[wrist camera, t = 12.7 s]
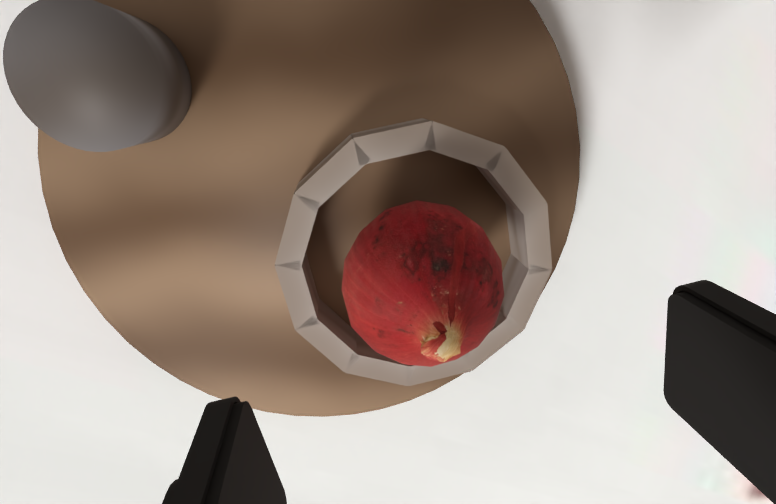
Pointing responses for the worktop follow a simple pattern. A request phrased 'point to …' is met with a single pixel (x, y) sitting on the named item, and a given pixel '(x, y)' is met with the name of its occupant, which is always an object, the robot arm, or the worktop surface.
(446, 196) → the carrier plate
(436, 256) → the red rounded piece
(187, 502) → the robot arm
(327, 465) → the worktop surface
